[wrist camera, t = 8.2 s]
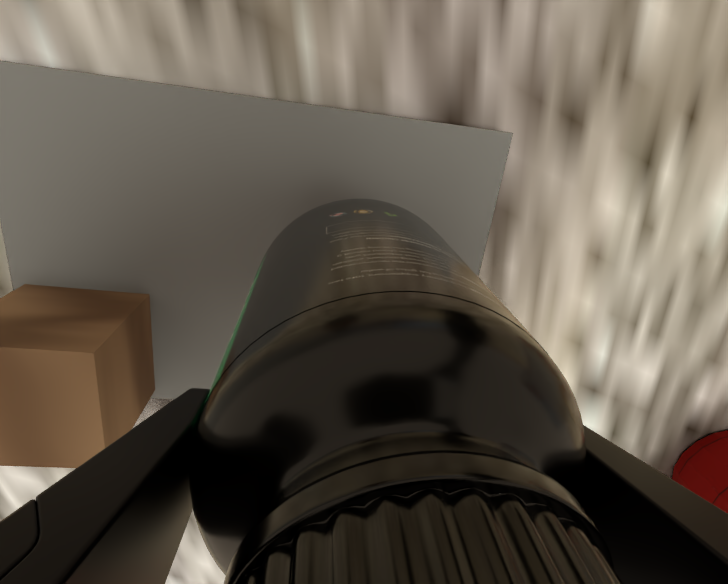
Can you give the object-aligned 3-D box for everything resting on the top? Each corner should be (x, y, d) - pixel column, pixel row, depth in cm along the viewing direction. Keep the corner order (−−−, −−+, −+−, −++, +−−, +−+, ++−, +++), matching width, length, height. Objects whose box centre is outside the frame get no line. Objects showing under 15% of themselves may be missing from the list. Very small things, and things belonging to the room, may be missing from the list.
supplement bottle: (213, 286, 15) (-116, 835, 4) (369, 147, 13) (593, 346, 2) (347, 406, 17) (392, 954, 6) (489, 299, 16) (881, 747, 5)
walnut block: (149, 294, 19) (93, 353, 14) (155, 389, 21) (107, 468, 16) (24, 283, 18) (-76, 342, 14) (42, 383, 20) (-41, 464, 16)
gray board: (501, 131, 19) (513, 132, 18) (439, 399, 24) (444, 413, 23) (-7, 60, 16) (-31, 56, 15) (47, 377, 21) (32, 392, 20)
